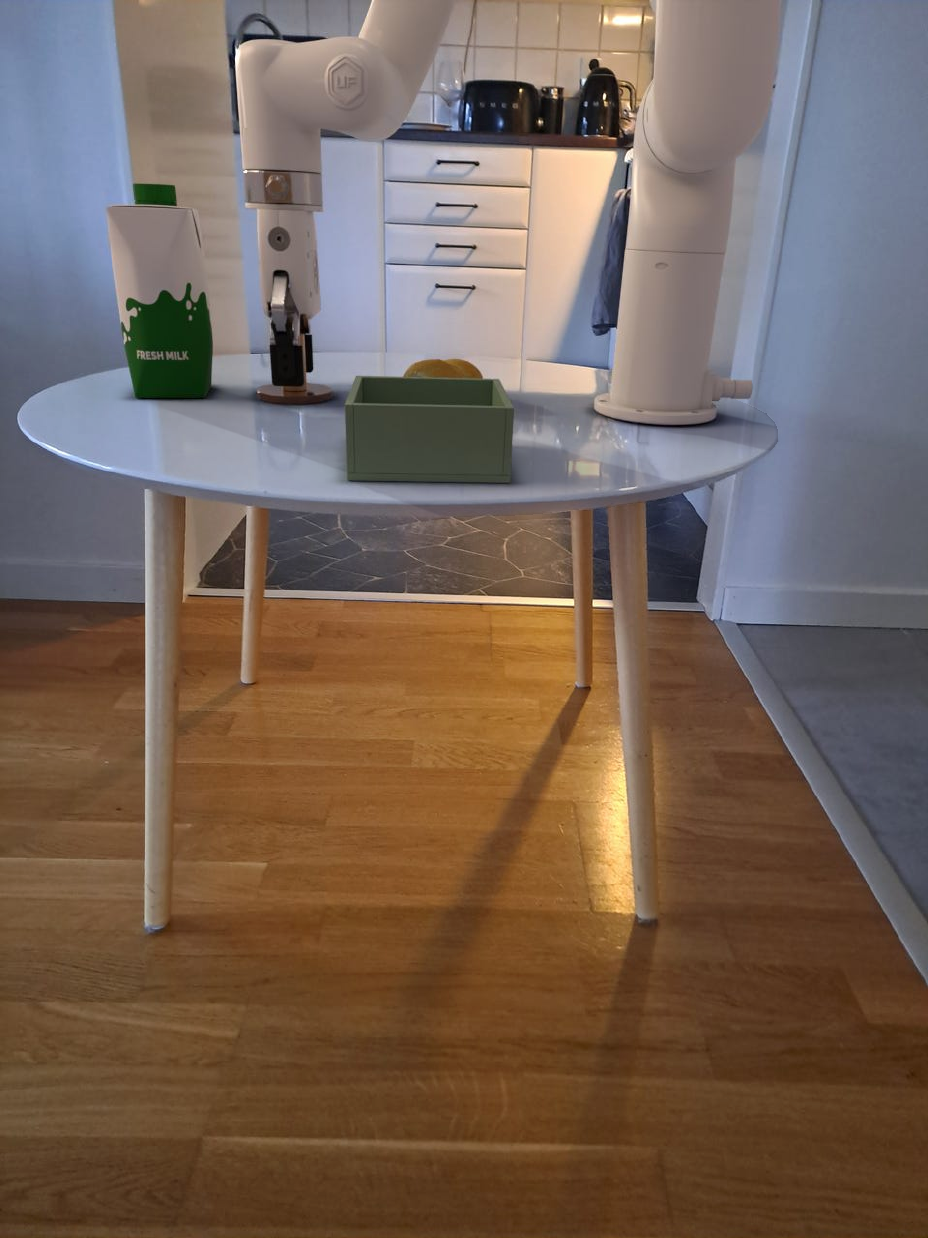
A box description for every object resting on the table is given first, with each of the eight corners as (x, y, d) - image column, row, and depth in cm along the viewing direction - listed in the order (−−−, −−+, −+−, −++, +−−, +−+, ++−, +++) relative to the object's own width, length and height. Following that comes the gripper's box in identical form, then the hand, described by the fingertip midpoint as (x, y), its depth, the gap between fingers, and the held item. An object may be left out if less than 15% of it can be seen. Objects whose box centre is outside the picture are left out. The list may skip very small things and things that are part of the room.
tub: (496, 443, 74) (499, 378, 71) (510, 483, 63) (514, 407, 60) (357, 441, 73) (355, 375, 71) (346, 480, 62) (344, 404, 60)
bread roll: (496, 395, 94) (498, 358, 93) (440, 404, 88) (441, 366, 87) (444, 384, 99) (445, 349, 98) (388, 392, 94) (388, 355, 92)
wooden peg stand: (335, 390, 94) (333, 329, 91) (328, 404, 87) (326, 339, 84) (263, 389, 93) (259, 327, 91) (250, 403, 86) (245, 337, 83)
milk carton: (220, 384, 95) (202, 186, 86) (212, 400, 87) (191, 183, 78) (139, 384, 93) (112, 183, 85) (123, 400, 85) (92, 179, 77)
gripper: (312, 193, 74) (320, 394, 82) (330, 197, 90) (336, 366, 97) (226, 190, 74) (243, 393, 81) (260, 195, 89) (271, 364, 97)
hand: (293, 377), depth 89 cm, fingers open, 7 cm apart
